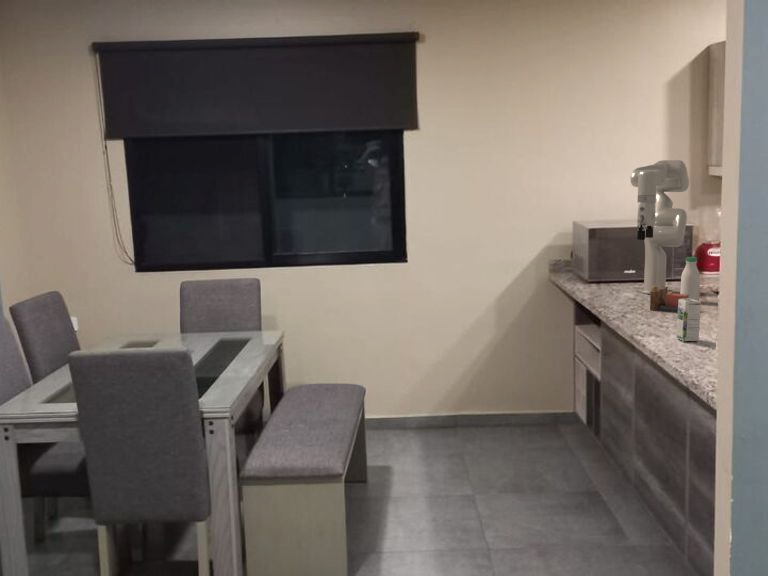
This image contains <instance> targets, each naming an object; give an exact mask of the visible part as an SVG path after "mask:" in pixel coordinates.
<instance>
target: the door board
mask: <svg viewBox="0 0 768 576" xmlns="http://www.w3.org/2000/svg"><path fill="white" fill-rule="evenodd" d="M667 290H669V289H668V286H665V287H661V288H658V289H657V287H656V286H652V287H651V294H650V297H649V298H650V299H649V300H650V301H649V311H650V310H651V311H652V312H656V311H659V310H658V308H659V305H660V304H662V303H665V298H666V294H667Z"/></svg>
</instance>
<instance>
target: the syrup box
mask: <svg viewBox="0 0 768 576" xmlns="http://www.w3.org/2000/svg"><path fill="white" fill-rule="evenodd" d="M701 306H702V302H701V301H700V300H699V301H697V300H694V299H679V302H678V312H677V320H676V321H677V323H676V336H675V337H676V338H678V339H680V340H682V341H699V340H700V325H701V323H700V322H701V308H702V307H701ZM676 338H675V339H676ZM678 339H677V340H678ZM680 340H679V341H680ZM682 341H681V342H682Z"/></svg>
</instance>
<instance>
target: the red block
mask: <svg viewBox="0 0 768 576" xmlns="http://www.w3.org/2000/svg"><path fill="white" fill-rule="evenodd" d="M688 296H689V295H686V294H680V293H674V292H672V291H669V293H667V294H666V298H665V306H675V307H678V302H679V299H688Z"/></svg>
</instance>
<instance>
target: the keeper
mask: <svg viewBox="0 0 768 576" xmlns="http://www.w3.org/2000/svg"><path fill="white" fill-rule="evenodd" d="M657 311H664V312H672V313H673V312H675V313H678V307H675V306H665V303H662V304H660V305H659V308H658V310H657Z"/></svg>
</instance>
